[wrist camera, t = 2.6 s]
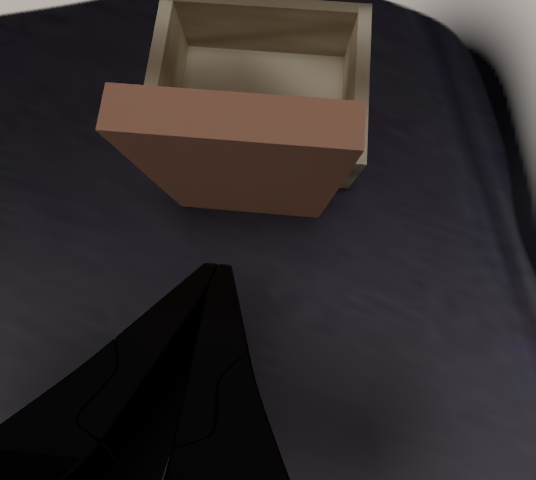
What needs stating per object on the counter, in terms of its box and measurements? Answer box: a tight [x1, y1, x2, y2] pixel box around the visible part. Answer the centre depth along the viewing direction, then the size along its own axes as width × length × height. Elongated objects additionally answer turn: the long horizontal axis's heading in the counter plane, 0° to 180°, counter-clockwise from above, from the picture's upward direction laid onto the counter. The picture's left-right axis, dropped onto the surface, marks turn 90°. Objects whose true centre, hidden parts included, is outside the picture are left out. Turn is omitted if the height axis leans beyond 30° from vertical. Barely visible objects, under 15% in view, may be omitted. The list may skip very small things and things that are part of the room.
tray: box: [144, 0, 372, 189], centre depth 15 cm, size 9×11×3 cm
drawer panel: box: [96, 82, 366, 218], centre depth 12 cm, size 2×8×8 cm, turn 85°
